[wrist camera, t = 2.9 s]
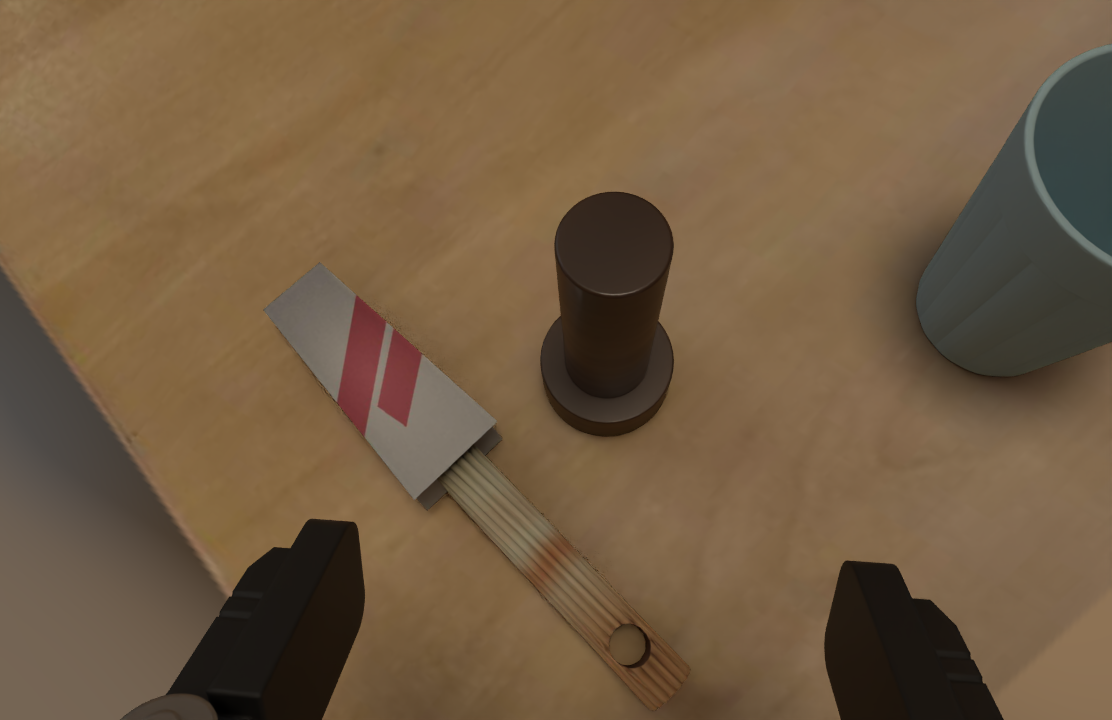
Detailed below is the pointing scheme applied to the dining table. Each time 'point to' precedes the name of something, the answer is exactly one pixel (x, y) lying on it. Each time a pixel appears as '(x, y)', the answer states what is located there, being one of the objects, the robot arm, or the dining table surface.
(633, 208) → the grey brown flanged cylinder
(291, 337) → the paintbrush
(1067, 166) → the cup
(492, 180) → the dining table surface
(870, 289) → the dining table surface
